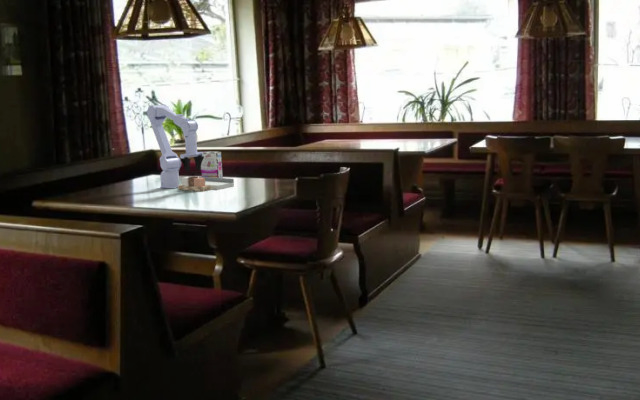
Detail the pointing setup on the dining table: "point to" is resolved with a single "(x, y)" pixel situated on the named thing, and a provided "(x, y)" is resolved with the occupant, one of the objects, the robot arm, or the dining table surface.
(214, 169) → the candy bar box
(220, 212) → the dining table surface
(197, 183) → the salmon pink cube
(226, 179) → the dock
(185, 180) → the white cube
